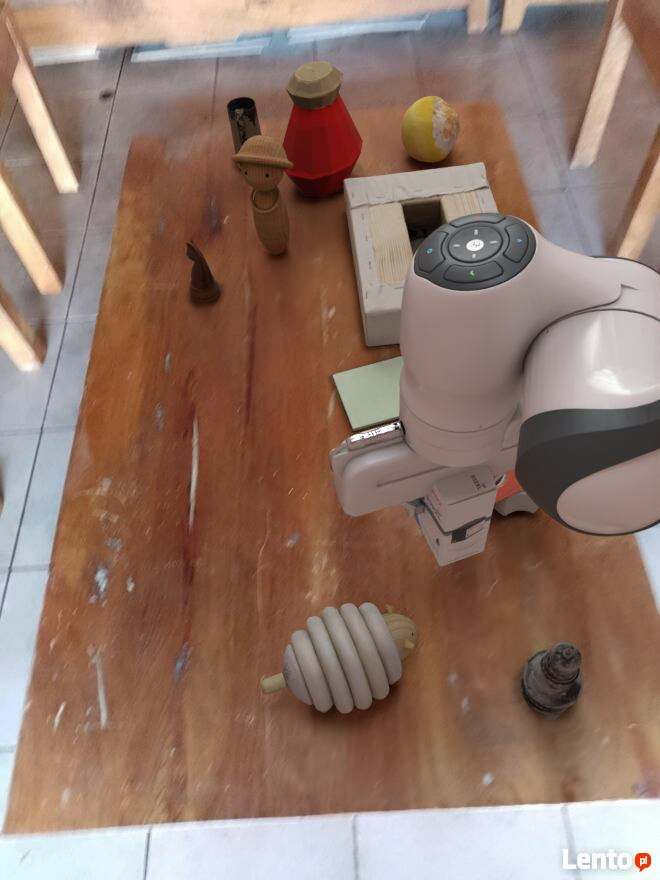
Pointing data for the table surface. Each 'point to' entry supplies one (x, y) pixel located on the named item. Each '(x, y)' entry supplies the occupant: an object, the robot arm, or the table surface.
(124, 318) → the table surface
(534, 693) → the dark grey tiered post
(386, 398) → the mat
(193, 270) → the chess piece
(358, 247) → the box
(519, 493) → the tape dispenser
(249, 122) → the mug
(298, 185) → the bottle
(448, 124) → the fruit
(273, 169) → the figurine
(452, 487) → the ink box
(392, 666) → the toy sheep
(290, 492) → the table surface
